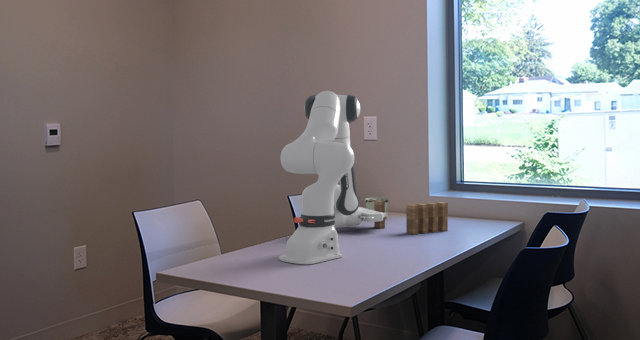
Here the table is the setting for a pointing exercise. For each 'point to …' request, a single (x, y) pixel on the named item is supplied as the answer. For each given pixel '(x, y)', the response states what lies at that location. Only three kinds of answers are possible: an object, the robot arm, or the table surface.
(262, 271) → the table surface
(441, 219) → the domino
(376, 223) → the domino
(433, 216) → the domino
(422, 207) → the domino
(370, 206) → the food container
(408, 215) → the domino
